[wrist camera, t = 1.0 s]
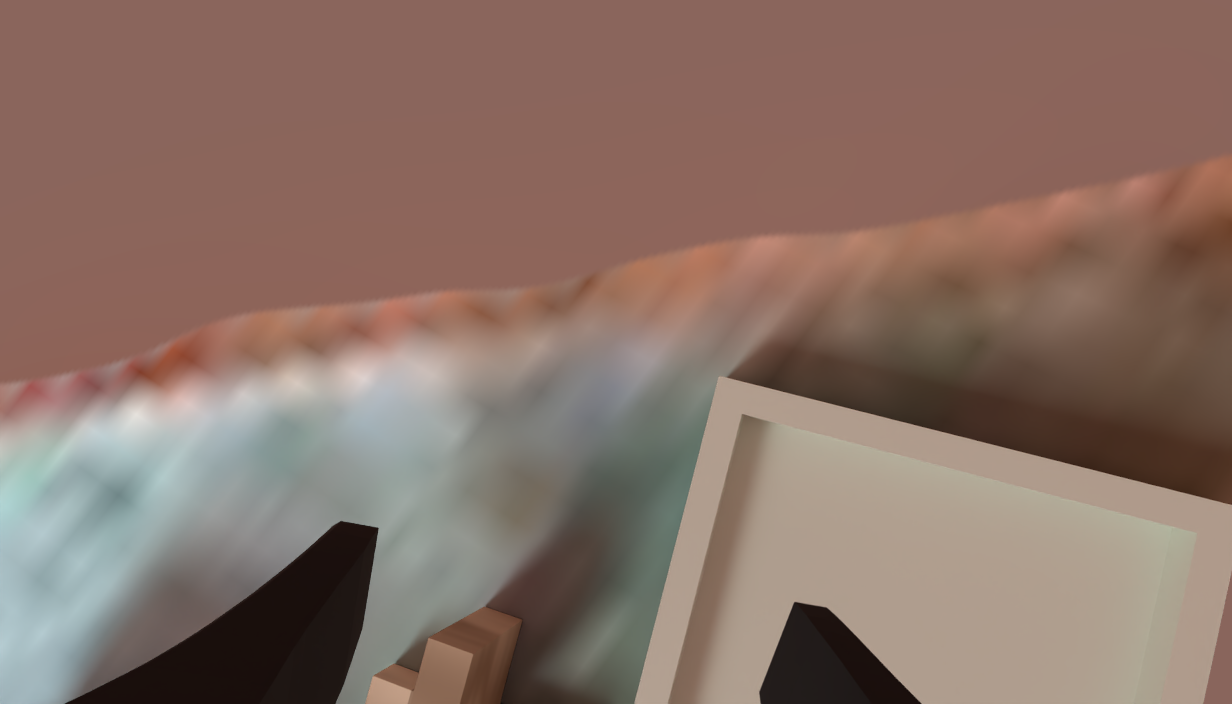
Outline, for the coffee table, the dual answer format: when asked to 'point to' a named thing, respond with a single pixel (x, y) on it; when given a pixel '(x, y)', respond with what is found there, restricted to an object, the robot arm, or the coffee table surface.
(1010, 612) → the tray
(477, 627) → the collar
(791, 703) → the robot arm
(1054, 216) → the coffee table surface
